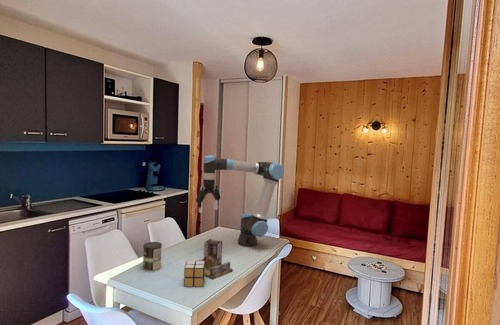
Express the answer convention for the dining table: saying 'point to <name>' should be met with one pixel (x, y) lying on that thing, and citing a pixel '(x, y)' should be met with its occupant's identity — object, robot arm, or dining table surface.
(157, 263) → the coffee can
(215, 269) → the rail dock
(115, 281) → the dining table surface
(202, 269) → the puzzle cube
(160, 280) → the dining table surface
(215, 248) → the coffee box
